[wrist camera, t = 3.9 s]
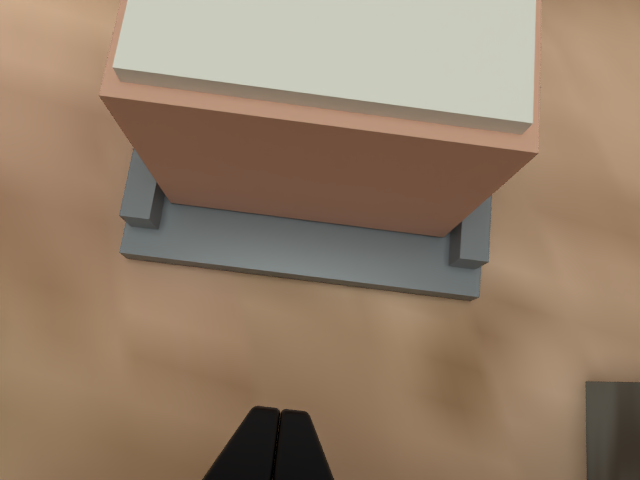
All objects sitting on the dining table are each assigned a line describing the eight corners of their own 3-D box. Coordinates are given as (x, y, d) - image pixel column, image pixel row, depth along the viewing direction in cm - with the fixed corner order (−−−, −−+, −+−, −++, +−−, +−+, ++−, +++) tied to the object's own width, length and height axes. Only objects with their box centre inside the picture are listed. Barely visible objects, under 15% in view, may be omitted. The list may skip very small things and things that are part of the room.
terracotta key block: (443, 237, 21) (550, 142, 12) (170, 202, 20) (89, 81, 12) (453, 89, 22) (554, -85, 14) (198, 55, 22) (143, -145, 13)
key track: (470, 300, 21) (493, 291, 19) (127, 258, 21) (107, 243, 19) (488, -53, 25) (509, -98, 23) (198, -95, 25) (189, -144, 22)
